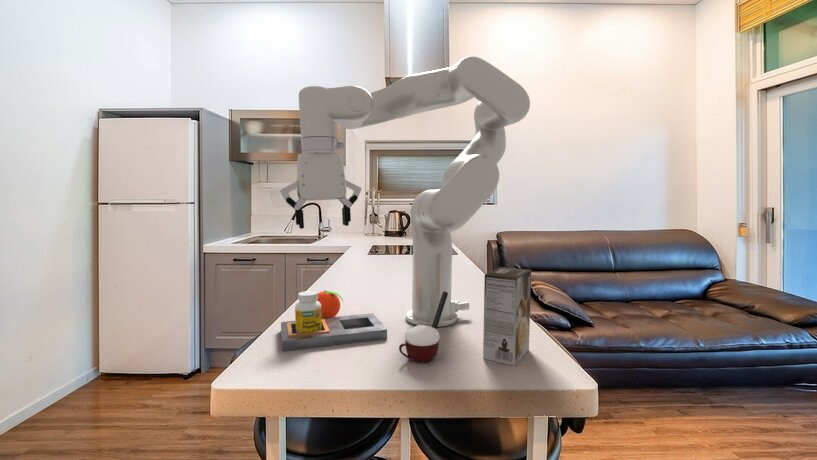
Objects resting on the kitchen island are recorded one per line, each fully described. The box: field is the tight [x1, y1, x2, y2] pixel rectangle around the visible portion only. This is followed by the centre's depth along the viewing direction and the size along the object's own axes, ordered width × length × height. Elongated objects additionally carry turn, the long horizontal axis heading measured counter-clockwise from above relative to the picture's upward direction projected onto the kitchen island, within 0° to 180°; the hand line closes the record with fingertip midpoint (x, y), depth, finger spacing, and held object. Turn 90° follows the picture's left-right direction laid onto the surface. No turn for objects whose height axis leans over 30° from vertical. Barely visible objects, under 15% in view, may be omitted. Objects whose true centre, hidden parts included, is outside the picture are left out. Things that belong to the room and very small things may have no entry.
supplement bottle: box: [294, 290, 322, 333], centre depth 80 cm, size 5×5×10 cm
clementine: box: [317, 290, 344, 318], centre depth 93 cm, size 8×7×7 cm
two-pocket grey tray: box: [280, 312, 388, 352], centre depth 82 cm, size 21×12×2 cm, turn 110°
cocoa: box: [398, 291, 448, 364], centre depth 70 cm, size 10×6×12 cm, turn 91°
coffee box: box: [482, 266, 533, 367], centre depth 72 cm, size 9×6×16 cm
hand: (324, 226), depth 84 cm, fingers open, 9 cm apart
